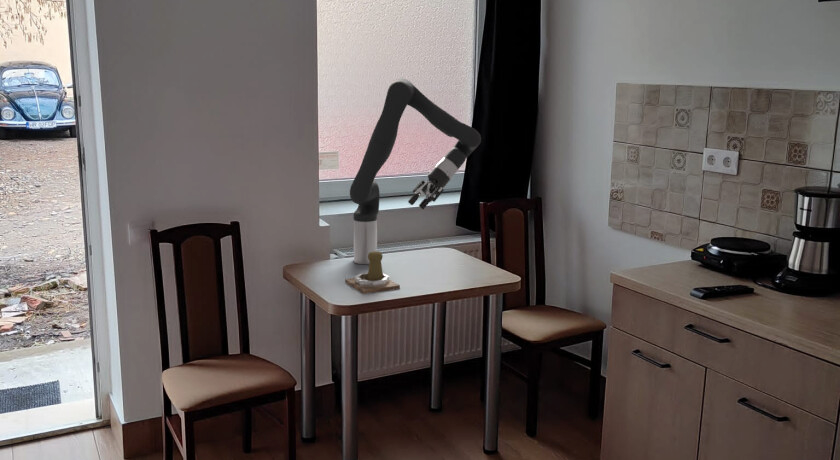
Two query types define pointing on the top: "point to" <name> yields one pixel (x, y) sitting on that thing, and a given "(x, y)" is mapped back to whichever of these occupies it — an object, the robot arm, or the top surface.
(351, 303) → the top surface
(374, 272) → the olive chess piece
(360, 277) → the metal collar
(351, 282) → the walnut board
